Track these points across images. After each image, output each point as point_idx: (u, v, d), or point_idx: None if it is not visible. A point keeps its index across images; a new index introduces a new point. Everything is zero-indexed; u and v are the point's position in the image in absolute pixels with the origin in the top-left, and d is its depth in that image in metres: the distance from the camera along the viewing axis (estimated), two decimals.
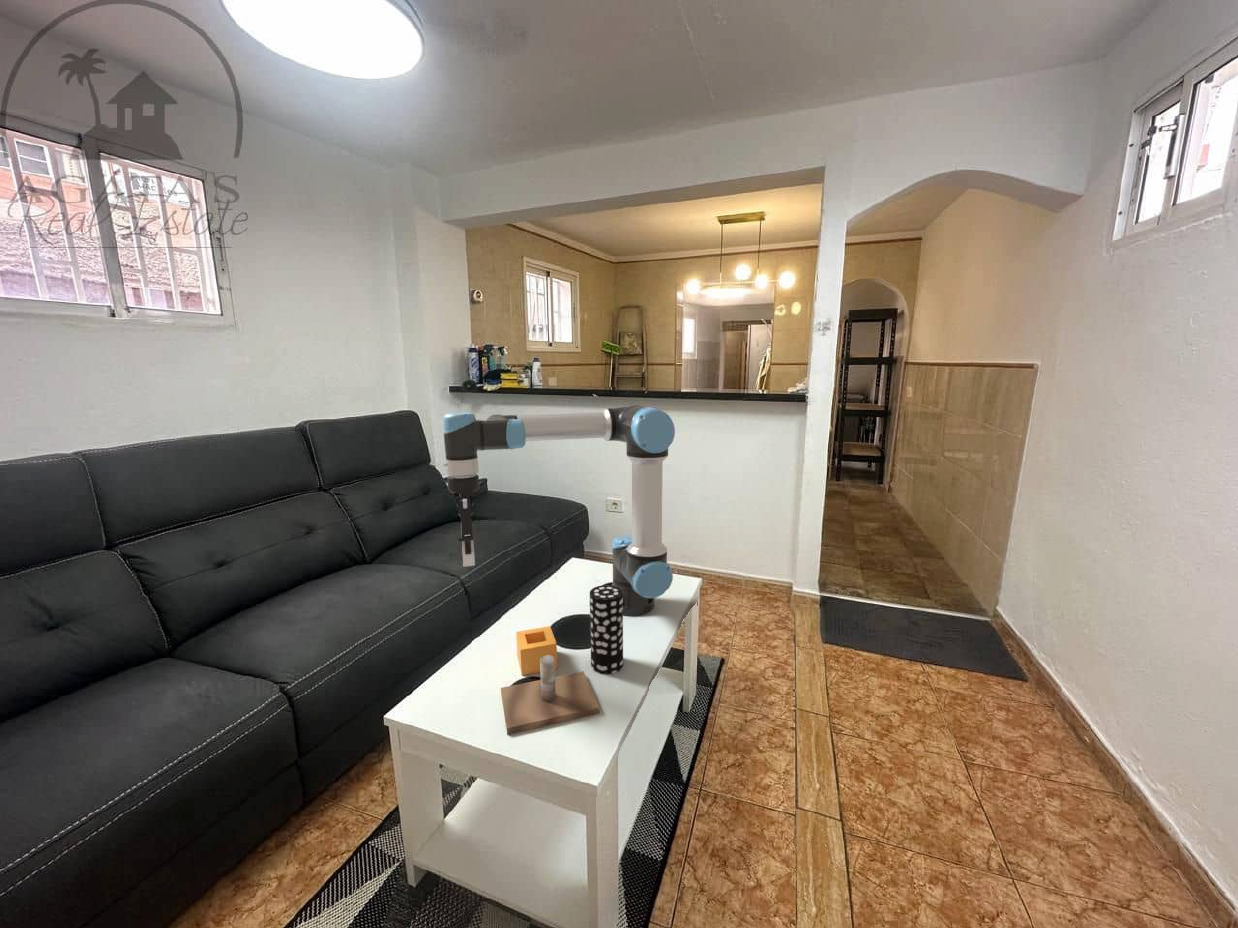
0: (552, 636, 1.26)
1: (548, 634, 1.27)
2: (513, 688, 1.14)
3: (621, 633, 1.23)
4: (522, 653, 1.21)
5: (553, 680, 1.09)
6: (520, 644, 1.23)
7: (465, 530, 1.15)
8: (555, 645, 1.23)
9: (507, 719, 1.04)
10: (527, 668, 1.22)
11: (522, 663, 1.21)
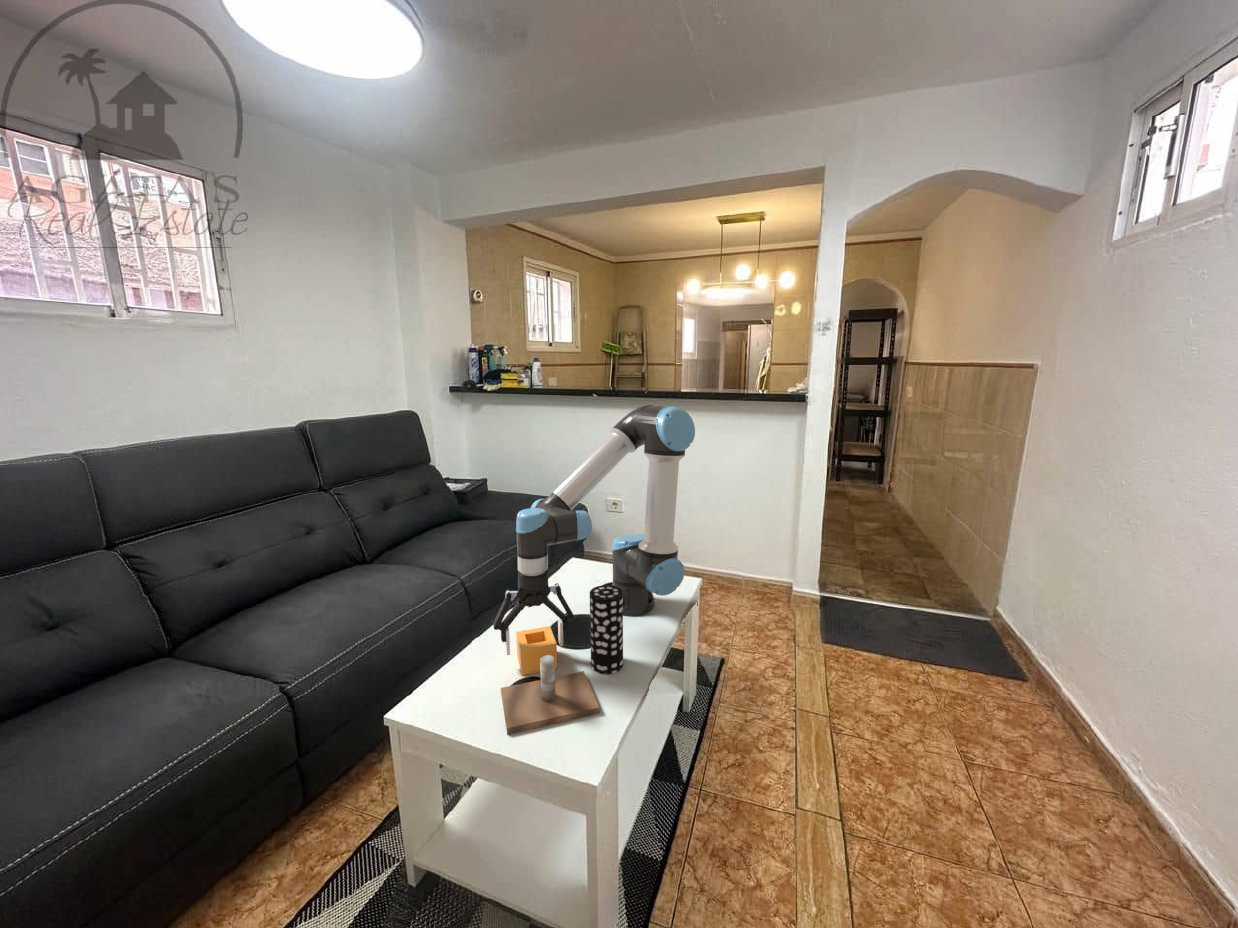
0: (552, 636, 1.26)
1: (548, 634, 1.27)
2: (513, 688, 1.14)
3: (621, 633, 1.23)
4: (522, 653, 1.21)
5: (553, 680, 1.09)
6: (520, 644, 1.23)
7: (496, 617, 1.22)
8: (555, 645, 1.23)
9: (507, 719, 1.04)
10: (527, 668, 1.22)
11: (522, 663, 1.21)
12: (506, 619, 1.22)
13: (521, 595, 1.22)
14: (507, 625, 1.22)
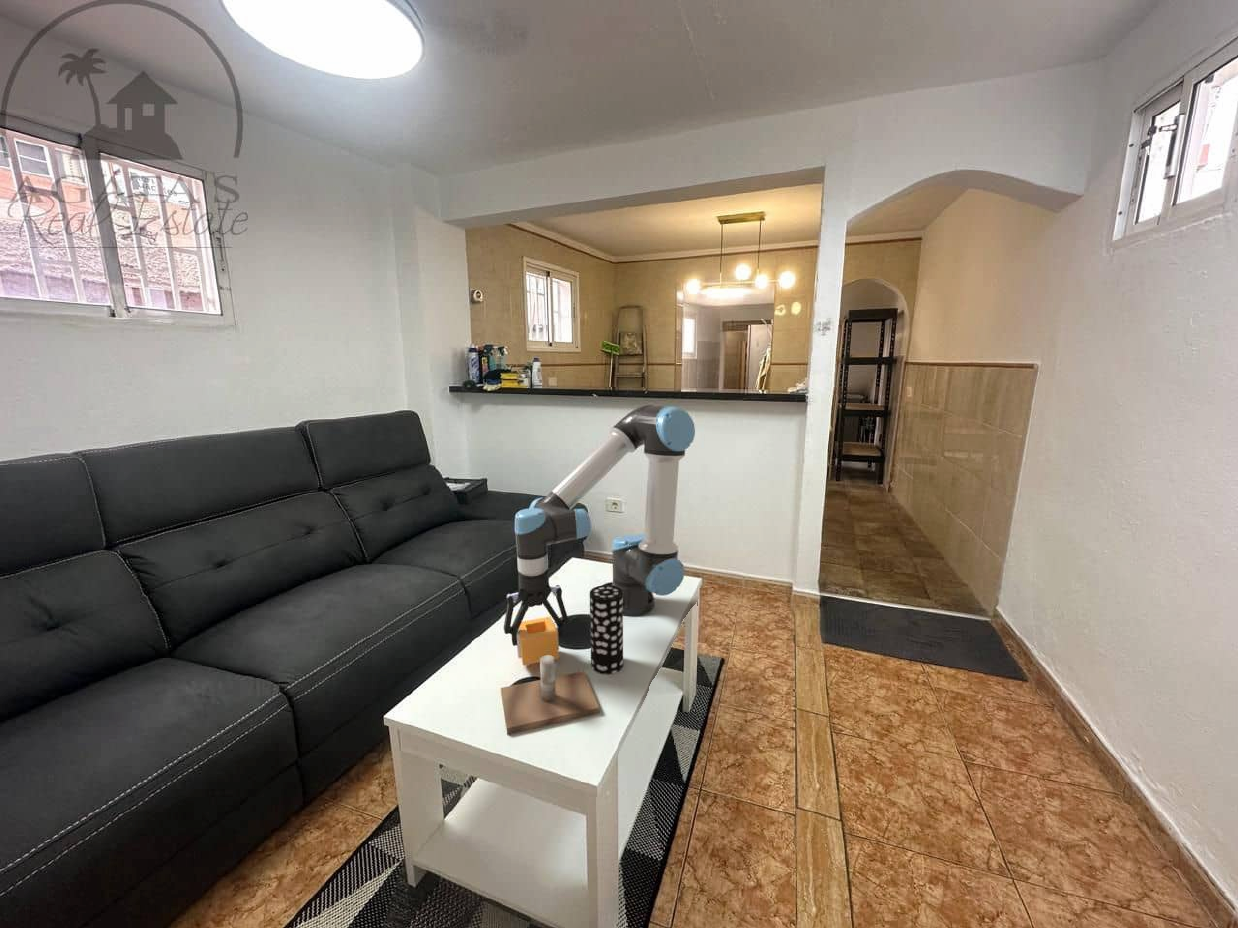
0: (553, 626, 1.26)
1: (549, 624, 1.27)
2: (513, 688, 1.14)
3: (621, 633, 1.23)
4: (523, 643, 1.20)
5: (553, 680, 1.09)
6: (521, 634, 1.22)
7: (505, 622, 1.23)
8: (556, 635, 1.23)
9: (507, 719, 1.04)
10: (529, 658, 1.22)
11: (523, 653, 1.21)
12: (514, 623, 1.23)
13: (522, 595, 1.22)
14: (517, 628, 1.23)
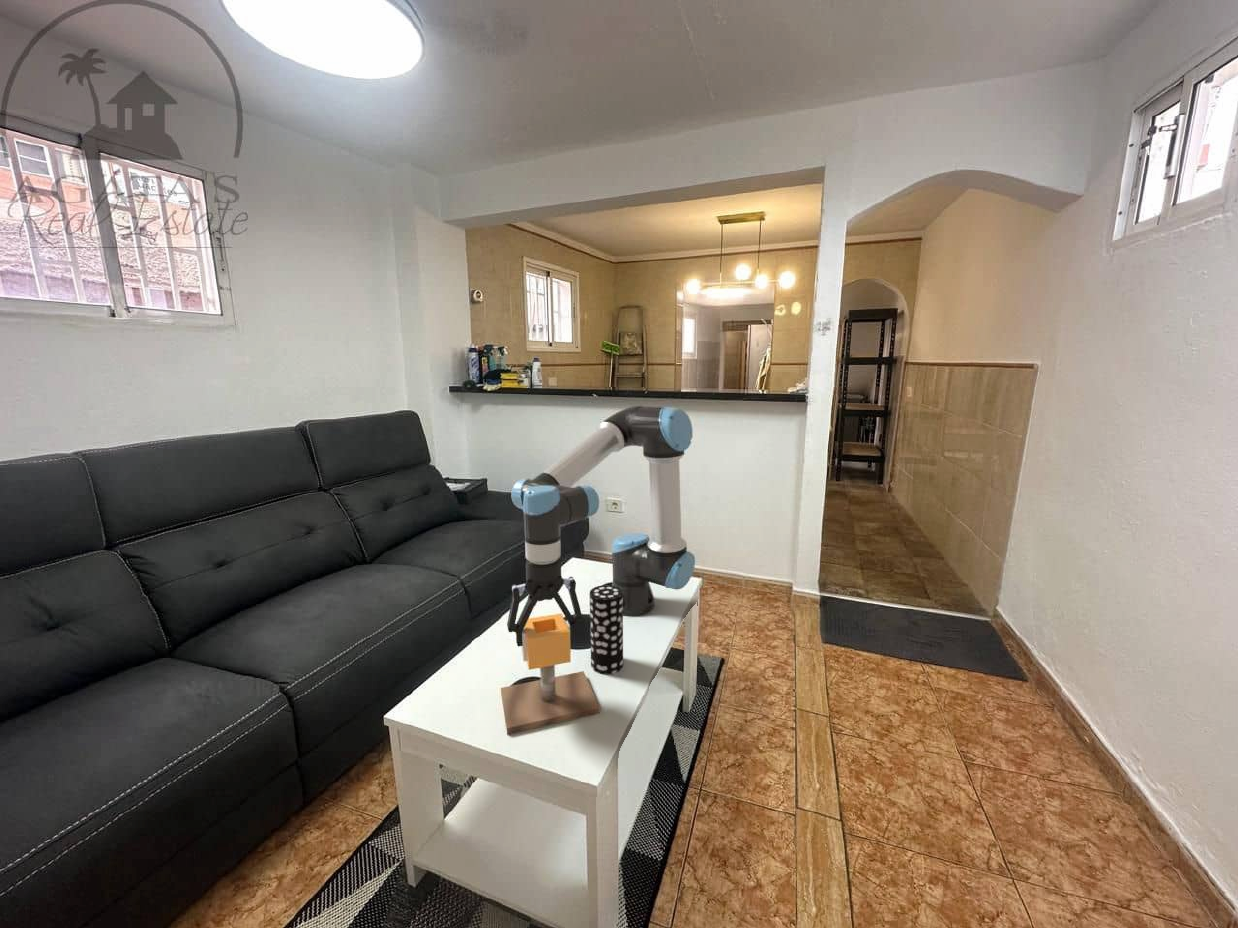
0: (564, 624, 1.08)
1: (560, 622, 1.09)
2: (513, 688, 1.14)
3: (621, 633, 1.23)
4: (530, 643, 1.02)
5: (553, 680, 1.09)
6: (527, 633, 1.05)
7: (509, 618, 1.05)
8: (568, 634, 1.05)
9: (507, 719, 1.04)
10: (536, 661, 1.04)
11: (530, 655, 1.03)
12: (520, 619, 1.05)
13: (530, 587, 1.04)
14: (522, 626, 1.05)
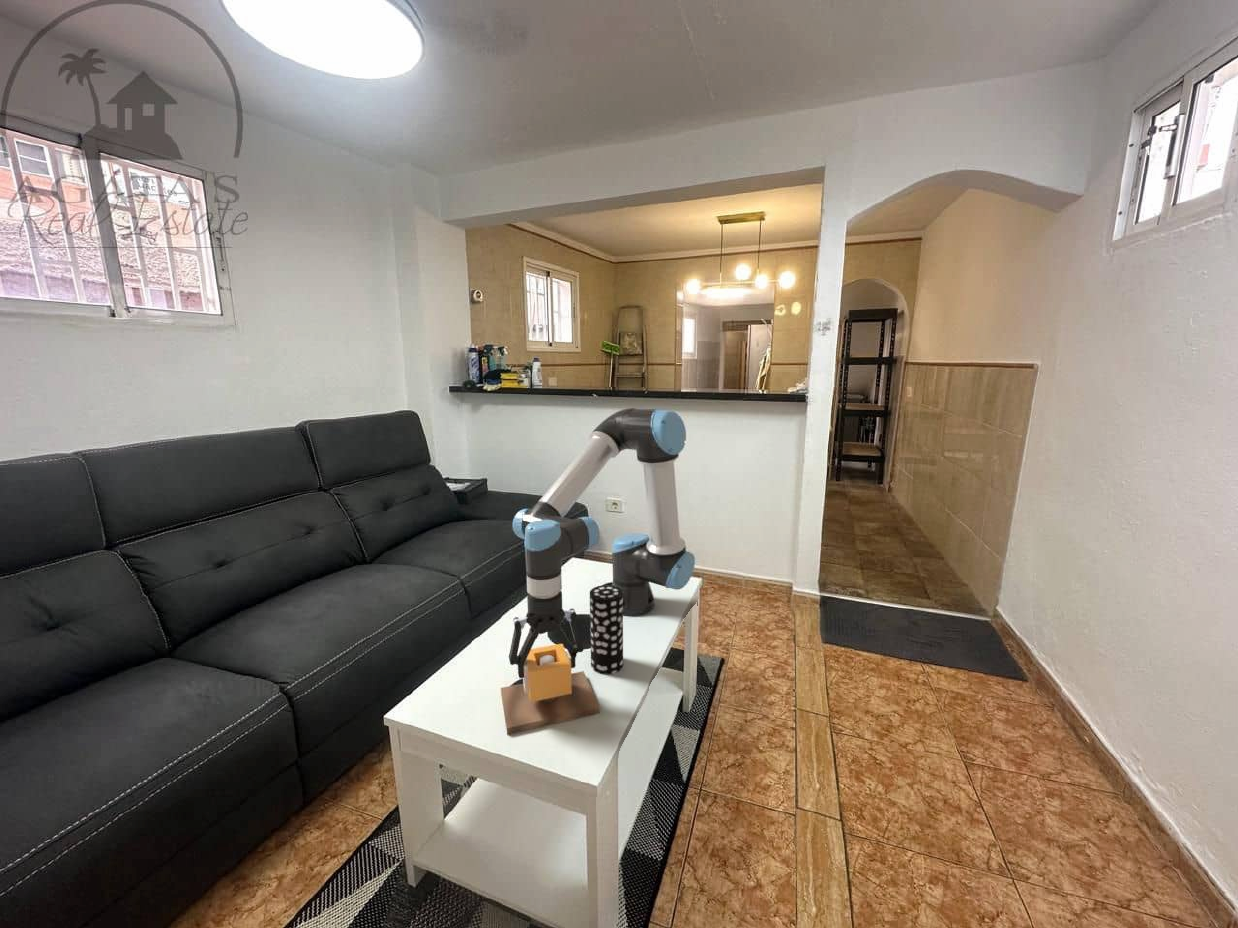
0: (565, 656, 1.09)
1: (561, 653, 1.11)
2: (513, 688, 1.14)
3: (621, 633, 1.23)
4: (531, 676, 1.04)
5: None
6: (529, 665, 1.06)
7: (510, 650, 1.06)
8: (569, 667, 1.06)
9: (507, 719, 1.04)
10: (537, 693, 1.05)
11: (531, 688, 1.04)
12: (521, 652, 1.07)
13: (531, 621, 1.05)
14: (524, 658, 1.06)
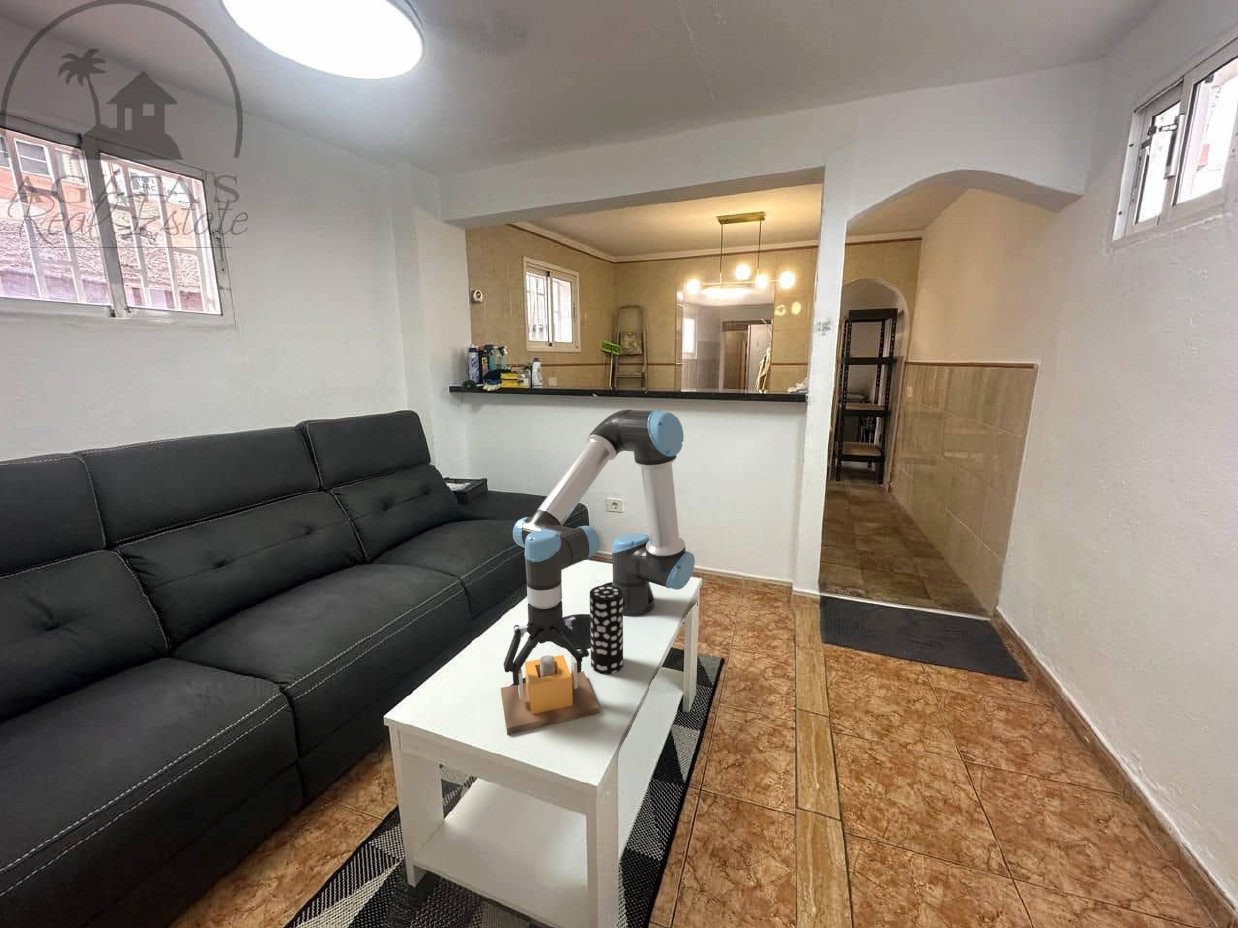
0: (566, 668, 1.10)
1: (562, 665, 1.11)
2: (513, 688, 1.14)
3: (621, 633, 1.23)
4: (532, 689, 1.05)
5: None
6: (530, 678, 1.07)
7: (506, 657, 1.07)
8: (570, 679, 1.07)
9: (507, 719, 1.04)
10: (539, 705, 1.06)
11: (532, 700, 1.05)
12: (518, 659, 1.07)
13: (532, 630, 1.06)
14: (519, 666, 1.06)
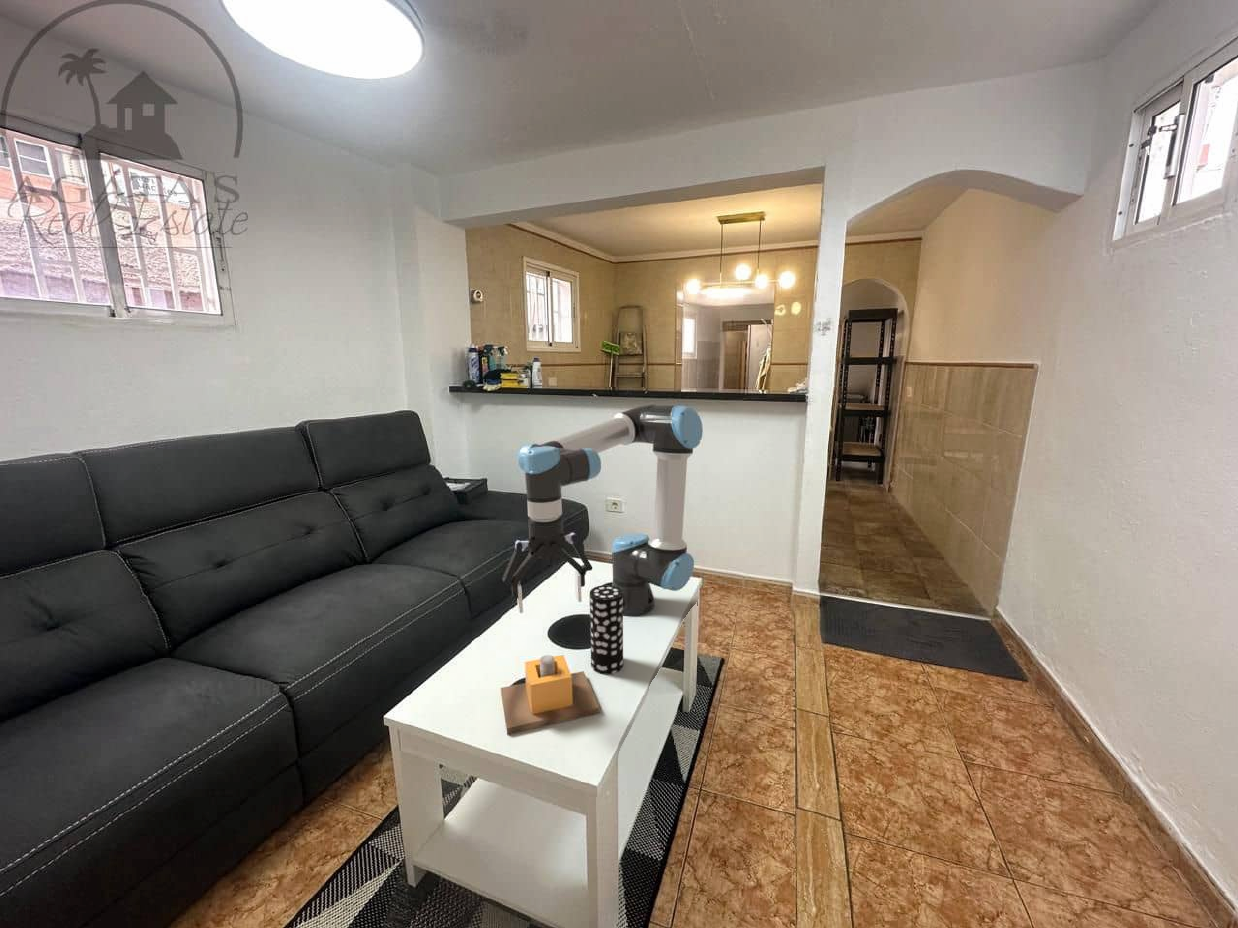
0: (566, 668, 1.10)
1: (562, 665, 1.11)
2: (513, 688, 1.14)
3: (621, 633, 1.23)
4: (532, 689, 1.05)
5: None
6: (530, 678, 1.07)
7: (506, 571, 1.08)
8: (570, 679, 1.07)
9: (507, 719, 1.04)
10: (539, 705, 1.06)
11: (532, 700, 1.05)
12: (517, 573, 1.09)
13: (533, 545, 1.08)
14: (519, 579, 1.08)
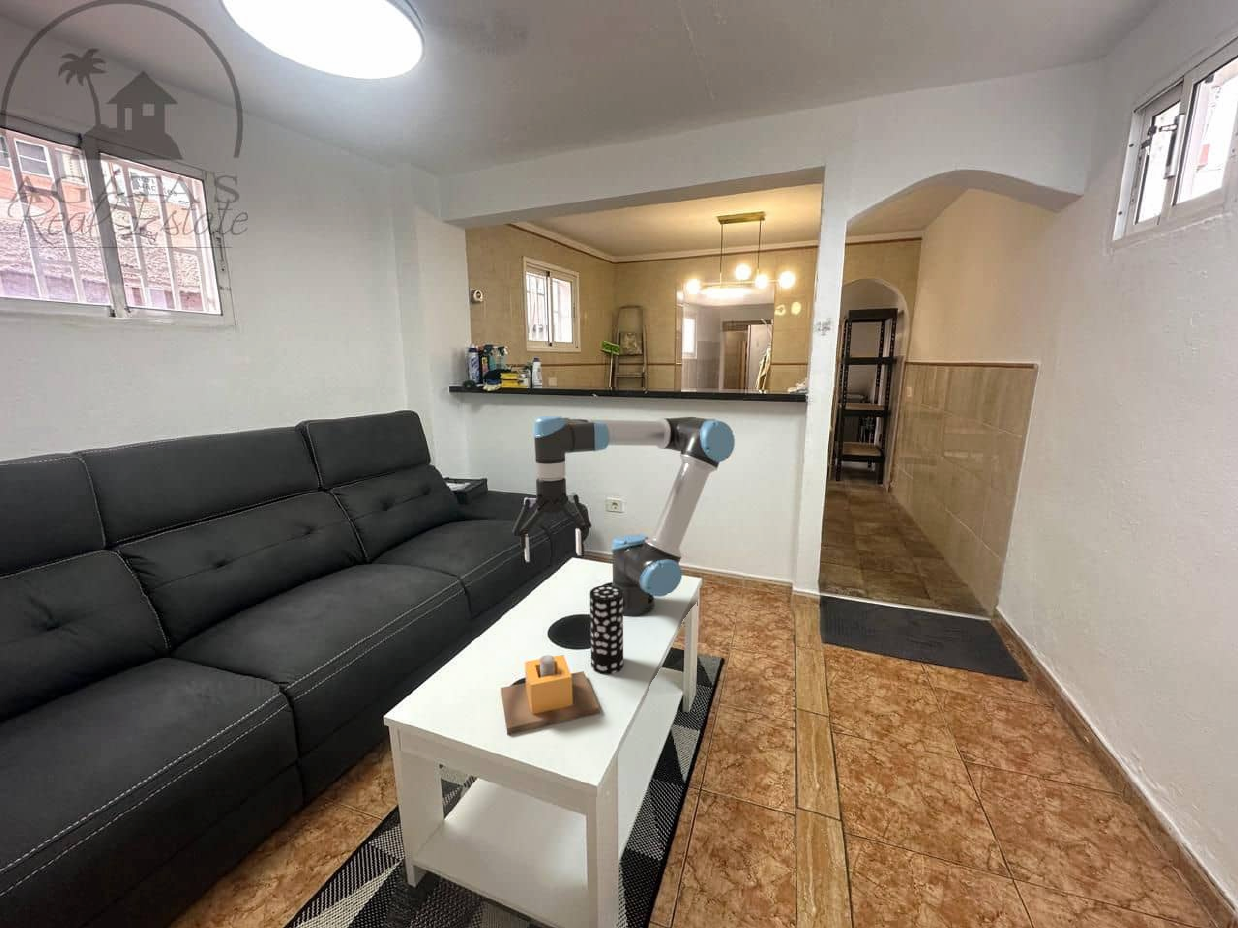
0: (566, 668, 1.10)
1: (562, 665, 1.11)
2: (513, 688, 1.14)
3: (621, 633, 1.23)
4: (532, 689, 1.05)
5: None
6: (530, 678, 1.07)
7: (515, 524, 1.24)
8: (570, 679, 1.07)
9: (507, 719, 1.04)
10: (539, 705, 1.06)
11: (532, 700, 1.05)
12: (525, 526, 1.24)
13: (540, 501, 1.23)
14: (526, 531, 1.23)
